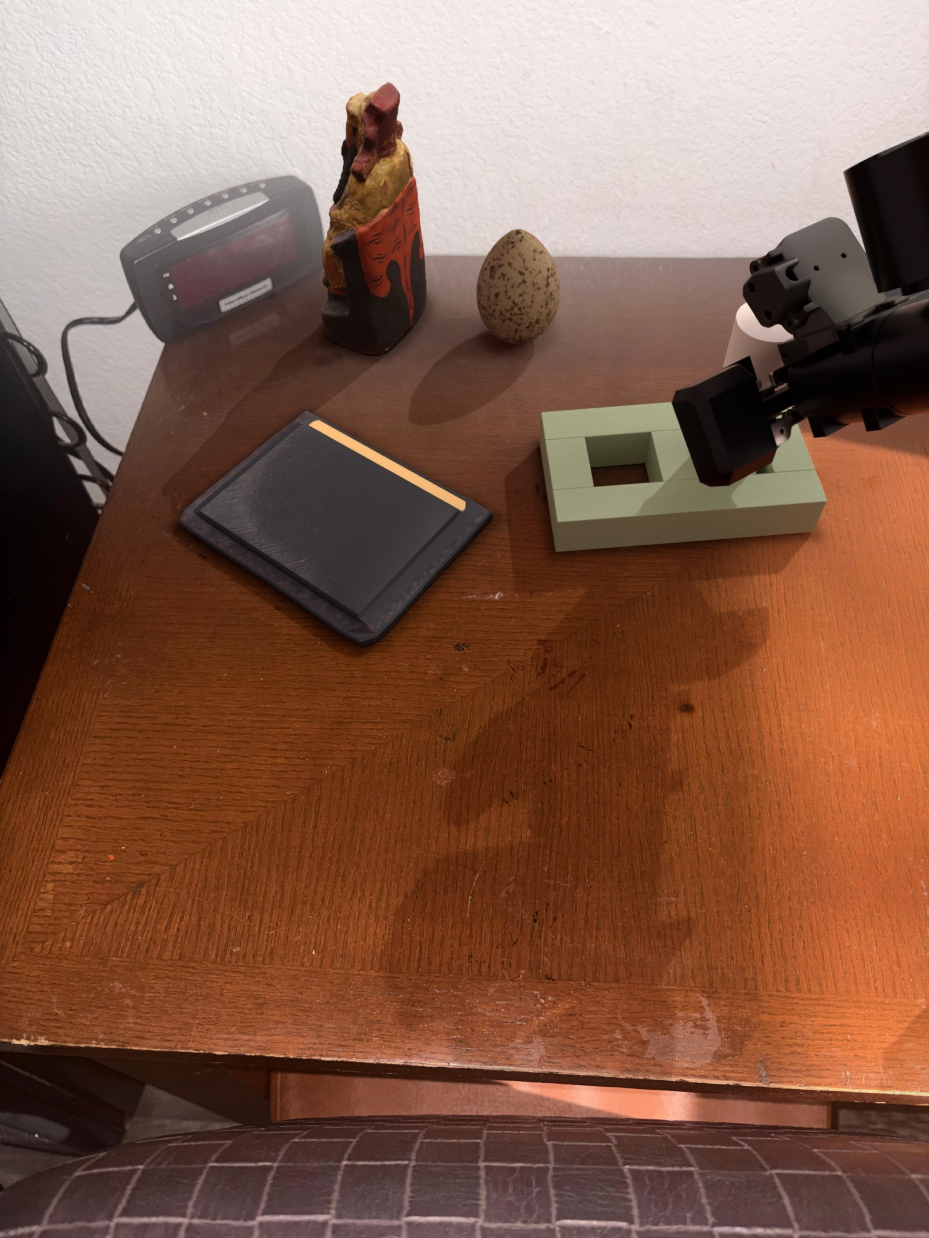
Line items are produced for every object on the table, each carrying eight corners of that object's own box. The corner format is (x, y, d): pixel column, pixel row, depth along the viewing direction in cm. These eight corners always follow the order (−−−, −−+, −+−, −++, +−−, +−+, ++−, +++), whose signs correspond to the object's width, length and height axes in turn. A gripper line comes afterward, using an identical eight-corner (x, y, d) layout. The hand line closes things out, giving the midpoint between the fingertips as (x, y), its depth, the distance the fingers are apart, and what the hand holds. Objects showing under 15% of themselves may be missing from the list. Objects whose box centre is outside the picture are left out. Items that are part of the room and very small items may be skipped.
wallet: (166, 507, 64) (307, 394, 70) (175, 522, 66) (312, 411, 72) (357, 644, 57) (497, 505, 63) (362, 658, 58) (498, 521, 64)
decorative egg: (472, 359, 74) (467, 257, 66) (484, 307, 78) (480, 204, 70) (553, 364, 73) (558, 261, 65) (561, 311, 77) (567, 207, 69)
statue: (374, 275, 81) (337, 45, 65) (444, 299, 79) (425, 66, 62) (299, 351, 76) (238, 120, 59) (372, 379, 74) (330, 147, 57)
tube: (694, 502, 64) (736, 340, 52) (694, 461, 67) (735, 296, 54) (752, 506, 64) (809, 344, 51) (750, 464, 66) (804, 299, 53)
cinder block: (539, 444, 68) (540, 411, 65) (774, 425, 68) (786, 392, 65) (555, 552, 62) (557, 522, 59) (813, 532, 62) (827, 501, 59)
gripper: (1001, 148, 45) (798, 238, 60) (727, 272, 41) (580, 337, 55) (1049, 349, 48) (843, 388, 62) (797, 486, 43) (639, 493, 58)
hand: (731, 398), depth 59 cm, fingers closed on tube, 4 cm apart
